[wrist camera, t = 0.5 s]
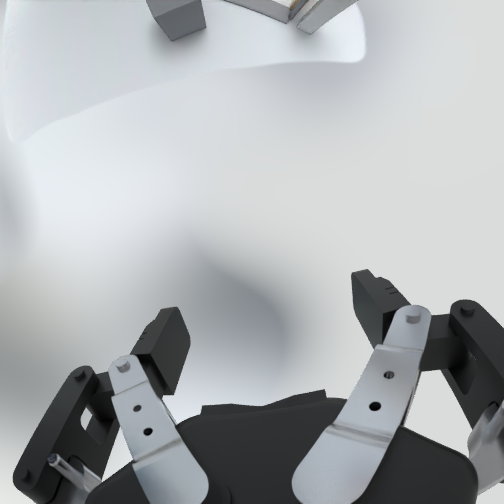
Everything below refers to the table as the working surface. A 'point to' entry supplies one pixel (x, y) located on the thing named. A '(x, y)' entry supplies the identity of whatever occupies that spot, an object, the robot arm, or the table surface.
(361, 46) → the table surface
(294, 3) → the door
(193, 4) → the grey rectangular prism
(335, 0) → the door frame
